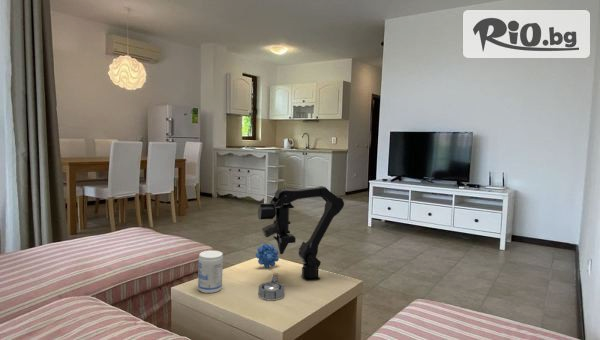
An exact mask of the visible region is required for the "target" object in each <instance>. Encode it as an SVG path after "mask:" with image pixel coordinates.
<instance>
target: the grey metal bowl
mask: <svg viewBox="0 0 600 340" xmlns="http://www.w3.org/2000/svg"><path fill="white" fill-rule="evenodd" d="M264 289H265V290H269V291H275V290H278V289H279V285H278V284H274V283H270V284H266V285H264ZM258 297H259V299H260V300H261V299H262V300H263V301H268V302H269V301H279V300H281V299H283V298H284V297H285V295H284V296H282V297H279V298H275V299H271V298H263V297H262V296H260V295H259V294H258Z"/></svg>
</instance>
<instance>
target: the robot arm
mask: <svg viewBox="0 0 600 340" xmlns="http://www.w3.org/2000/svg"><path fill="white" fill-rule="evenodd" d="M316 197H317V198H318V197H321V199H322V200H324V201H325V204H324V211H323V214H322V215H321V217H320V219H319V221H318V223H317V225H316V226H315V229H314V231H313V232H312V234H311V236H310V237H309V239H308V240H307V241H306V242H305V241H302V243H301V245H300V247H299V248H298V256H299V258H300V259H301V260H302V262H303V263H302V267H301V277H302V278H303V279H304V280H305V281H314V280H315V281H316V280H320V276H319V268H320V265H321V260H319V259H318V258H317V256H318V252H319V245H320V243H321V242H322V239H323V238H324V235H325V234H326V232H327V231H328V228H329V227H330V225H331V222H332V221H333V219H334V218H335V216H338V214H340V212H341V211H342V209H343V208H344V206H345V202H344V200H343V199H342V198H341V197H339V196H336V195H335V194H334V193H333V192H331V191H330V190H329V189H328V188H327V187H326V186H323V185H321V186H317V187H316V186H315V187H309V188H308V187H307V188H301V189H298V188H297V189H290V188H278V189H276V191H275V192H274V196H273V197H272V198H271V200H270V201H269V203H268V202H267V203H264V202H261V203H260V202H259V206H258V209H257V218H258V220H273V219H274V218H275V219H274V220H273V223H272V224H268V225H266V226H264V227H262V228H261V230H262V233H263V236H264V237H265V238H269V237H271V236H273V235H274V236H273V237H272V238H273V239H274V240H276V242H277V246H278V247H277V248H278V252H279V254H280V255H283V254H284V253H285V250H286V248H287V246H288V245H289V244H295V243H296V241H297V240H296V237H295V236H294V235H293V234H292V233H291V231H290V230H289V229H290V225H291V220H290V209H294V208H295V206H294V205H293V204H292V203H293V202H295V201H297V200H301V199H309V198H310V199H311V198H316Z"/></svg>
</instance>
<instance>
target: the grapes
mask: <svg viewBox="0 0 600 340" xmlns="http://www.w3.org/2000/svg"><path fill="white" fill-rule="evenodd" d="M279 254H280V252H279V249H276V248H275V245H274V244H268V243H263V244H262V246H257V252H256V253H255V257H256V259H257V260H258V261H257V262H258V264H259V265H262V266H263V267H264V268H267V269H268V268H269V267H275V266H276V262H278V261H279V259H280V258H279V256H278V255H279Z"/></svg>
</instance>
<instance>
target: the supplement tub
mask: <svg viewBox="0 0 600 340" xmlns="http://www.w3.org/2000/svg"><path fill="white" fill-rule="evenodd" d="M198 255H199V256H198V267H197V268H198V271H197V272H198V273H197V274H198V275H197V276H198V279H197V289H198V290H199V292H200V293H206V294H211V293H212V294H213V293H216V292H219V291H220V290H222V289H223V270H224V269H223V266H224V265H223V264H224V254H223V251H219V250H204V251H202V252H200V253H199V254H198Z"/></svg>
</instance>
